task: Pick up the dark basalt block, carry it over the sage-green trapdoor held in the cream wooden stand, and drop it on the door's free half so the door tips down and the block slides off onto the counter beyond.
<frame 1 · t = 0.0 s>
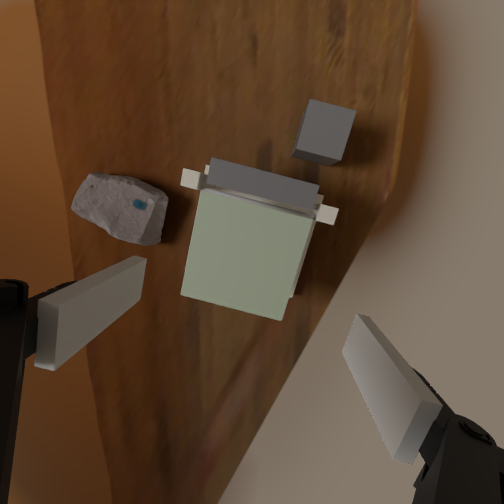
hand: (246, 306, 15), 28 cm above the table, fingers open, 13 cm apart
stone: (137, 207, 43), on the table
basalt block: (315, 141, 39), on the table
stand: (249, 243, 43), on the table
trapdoor: (247, 242, 33), point 10 cm above the table, hinge at -0.3°
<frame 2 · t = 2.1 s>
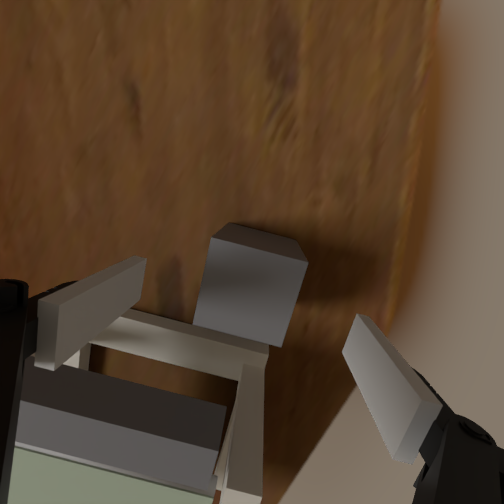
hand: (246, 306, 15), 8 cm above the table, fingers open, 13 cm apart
basalt block: (253, 263, 23), on the table
stand: (157, 406, 27), on the table
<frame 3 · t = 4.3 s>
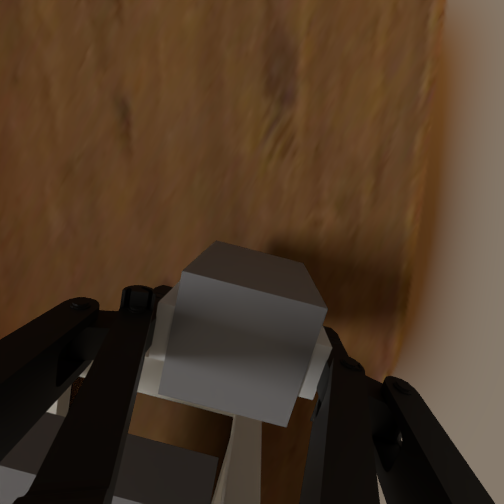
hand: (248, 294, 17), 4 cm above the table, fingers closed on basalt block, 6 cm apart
basalt block: (248, 292, 18), point 3 cm above the table, touching gripper
stand: (144, 443, 25), on the table
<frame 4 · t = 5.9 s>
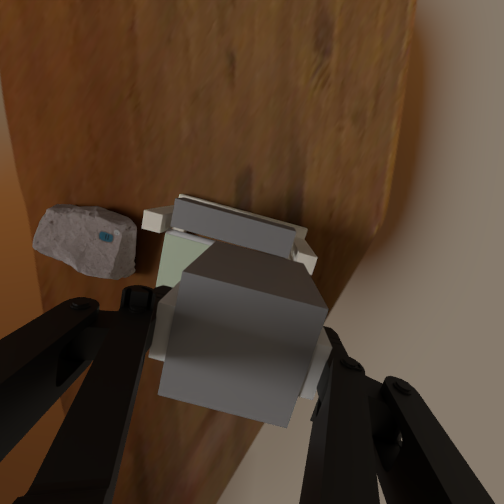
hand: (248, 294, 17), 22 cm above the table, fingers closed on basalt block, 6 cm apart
stone: (107, 236, 40), on the table
basalt block: (248, 292, 18), point 21 cm above the table, touching gripper
stand: (227, 275, 40), on the table
trapdoor: (219, 287, 30), point 10 cm above the table, hinge at -0.8°
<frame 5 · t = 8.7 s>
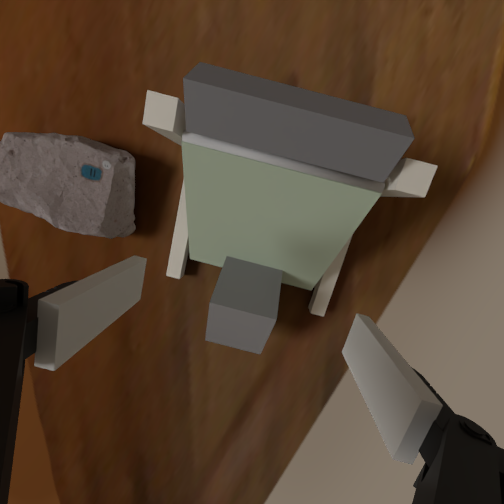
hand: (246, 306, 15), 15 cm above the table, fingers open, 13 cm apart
stone: (96, 185, 29), on the table
basalt block: (249, 285, 24), point 6 cm above the table, tilted 120°, touching trapdoor
stand: (260, 235, 29), on the table
trapdoor: (268, 210, 22), point 7 cm above the table, hinge at -39.4°, touching basalt block
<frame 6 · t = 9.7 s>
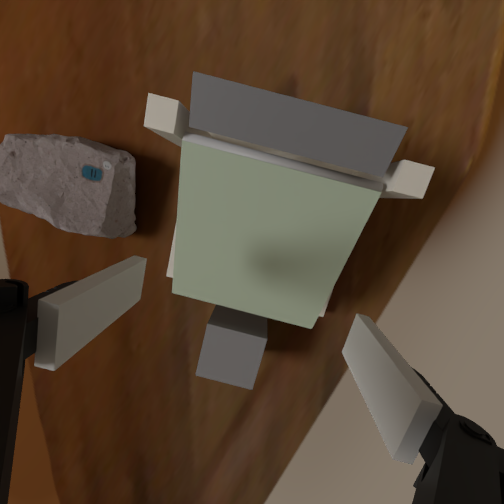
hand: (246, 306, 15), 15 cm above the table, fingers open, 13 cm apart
stone: (97, 186, 30), on the table
basalt block: (230, 357, 25), point 7 cm above the table, tilted 180°
stand: (260, 236, 29), on the table
trapdoor: (265, 224, 21), point 8 cm above the table, hinge at -18.8°
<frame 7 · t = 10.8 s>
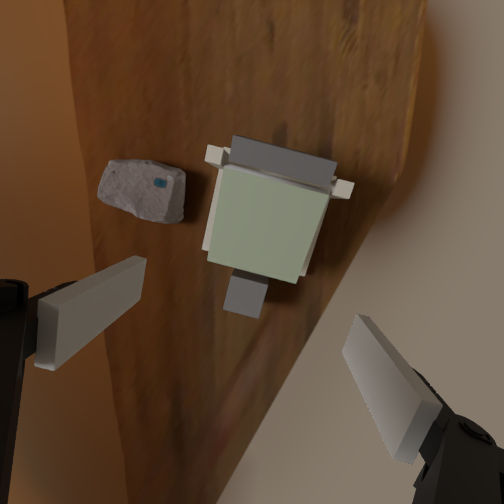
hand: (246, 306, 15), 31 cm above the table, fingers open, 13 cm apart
stone: (156, 190, 45), on the table
basalt block: (245, 297, 41), point 7 cm above the table, tilted 180°
stand: (263, 223, 45), on the table
trapdoor: (267, 215, 36), point 9 cm above the table, hinge at -13.1°
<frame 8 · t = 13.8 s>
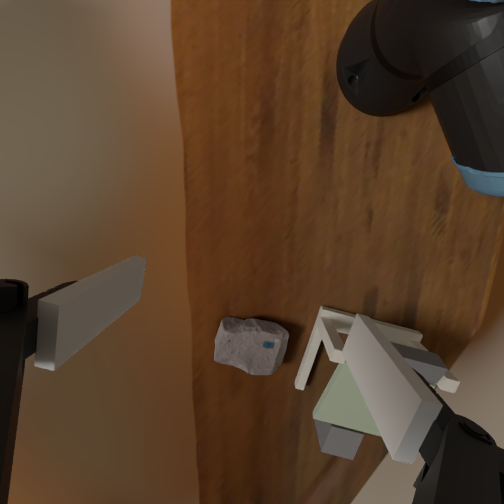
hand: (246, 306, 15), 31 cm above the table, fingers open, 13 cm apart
stone: (254, 336, 50), on the table
basalt block: (342, 443, 46), point 7 cm above the table, tilted 180°
stand: (350, 365, 50), on the table
trapdoor: (373, 389, 41), point 9 cm above the table, hinge at -12.1°
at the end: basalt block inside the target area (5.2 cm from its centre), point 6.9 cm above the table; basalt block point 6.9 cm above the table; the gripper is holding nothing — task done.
